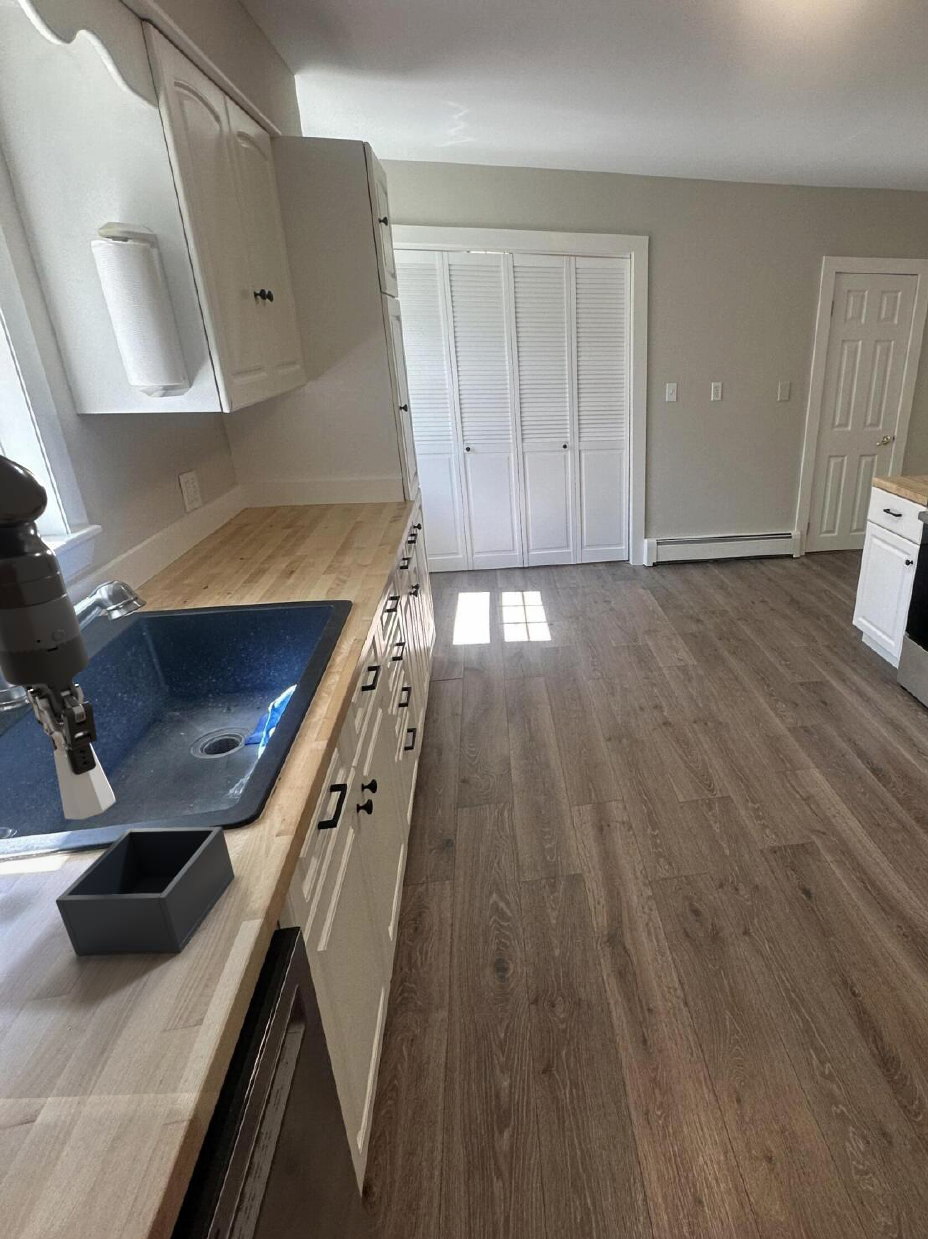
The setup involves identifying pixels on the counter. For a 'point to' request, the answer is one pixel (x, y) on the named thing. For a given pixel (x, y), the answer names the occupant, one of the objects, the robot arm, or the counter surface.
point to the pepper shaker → (81, 786)
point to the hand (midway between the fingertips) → (77, 764)
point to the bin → (147, 891)
